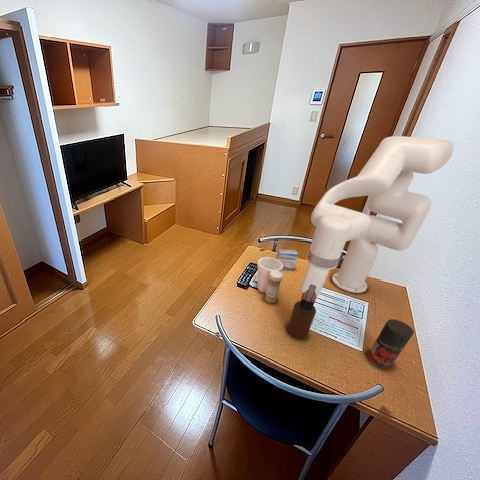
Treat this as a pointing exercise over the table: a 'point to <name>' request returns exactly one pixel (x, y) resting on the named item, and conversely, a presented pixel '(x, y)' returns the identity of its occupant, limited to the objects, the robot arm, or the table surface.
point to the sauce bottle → (300, 321)
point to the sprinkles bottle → (273, 286)
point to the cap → (306, 295)
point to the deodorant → (390, 343)
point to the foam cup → (266, 271)
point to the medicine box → (287, 258)
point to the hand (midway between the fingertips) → (306, 303)
